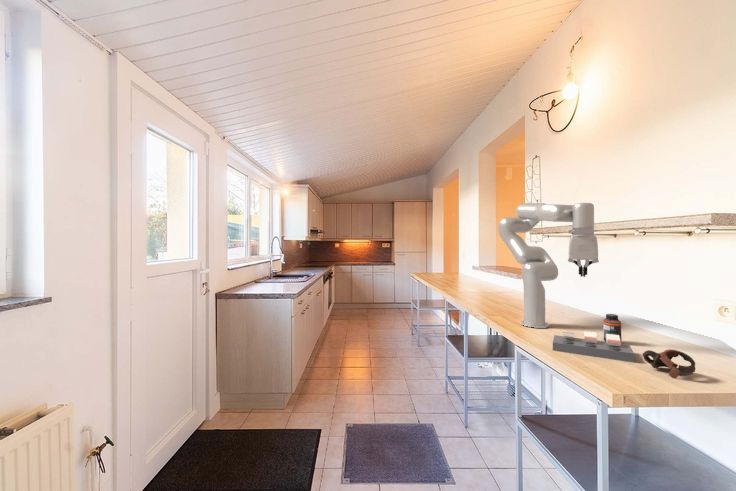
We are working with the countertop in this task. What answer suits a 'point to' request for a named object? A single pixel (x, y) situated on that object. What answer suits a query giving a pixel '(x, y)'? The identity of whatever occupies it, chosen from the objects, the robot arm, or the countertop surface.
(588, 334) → the rocker middle
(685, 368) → the brown linked rings
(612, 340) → the rocker
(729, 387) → the countertop surface
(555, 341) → the power strip
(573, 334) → the rocker
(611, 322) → the supplement bottle
